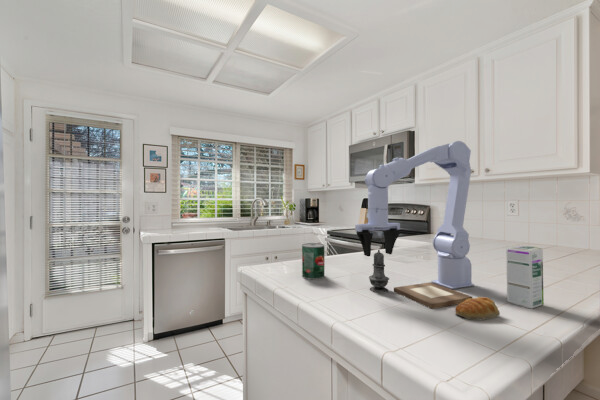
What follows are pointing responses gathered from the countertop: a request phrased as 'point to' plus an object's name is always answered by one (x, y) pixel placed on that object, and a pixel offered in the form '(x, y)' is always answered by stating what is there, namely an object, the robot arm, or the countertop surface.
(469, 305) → the pastry
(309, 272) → the canned tomato
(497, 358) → the countertop surface
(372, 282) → the salt shaker
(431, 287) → the walnut board
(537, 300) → the syrup box
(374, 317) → the countertop surface
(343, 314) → the countertop surface
